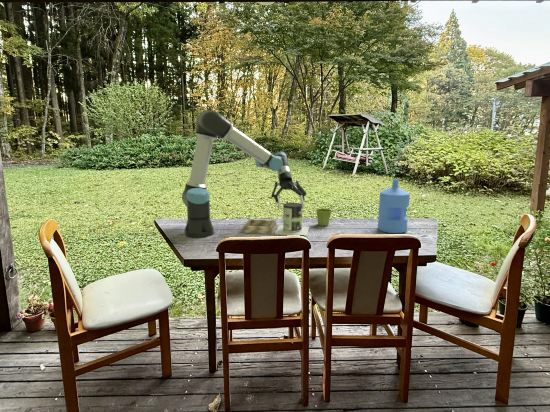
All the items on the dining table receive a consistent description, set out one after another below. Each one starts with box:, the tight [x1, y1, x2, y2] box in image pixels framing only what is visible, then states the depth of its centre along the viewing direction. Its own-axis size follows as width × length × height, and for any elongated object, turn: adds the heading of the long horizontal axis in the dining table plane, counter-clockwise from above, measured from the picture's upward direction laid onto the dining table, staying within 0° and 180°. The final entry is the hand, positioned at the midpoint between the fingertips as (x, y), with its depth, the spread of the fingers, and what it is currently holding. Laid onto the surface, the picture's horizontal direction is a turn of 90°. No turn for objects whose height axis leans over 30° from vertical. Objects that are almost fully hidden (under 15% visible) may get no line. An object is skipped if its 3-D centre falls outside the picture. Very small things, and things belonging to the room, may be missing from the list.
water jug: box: [377, 179, 411, 234], centre depth 210 cm, size 16×16×28 cm
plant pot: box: [315, 208, 333, 227], centre depth 222 cm, size 9×9×9 cm
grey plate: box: [274, 224, 310, 237], centre depth 210 cm, size 17×17×1 cm
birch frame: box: [242, 218, 277, 235], centre depth 213 cm, size 15×15×4 cm
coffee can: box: [282, 202, 303, 232], centre depth 209 cm, size 10×10×14 cm
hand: (291, 206), depth 212 cm, fingers open, 13 cm apart
